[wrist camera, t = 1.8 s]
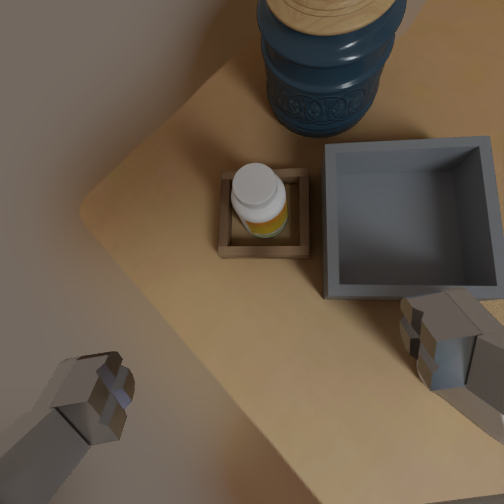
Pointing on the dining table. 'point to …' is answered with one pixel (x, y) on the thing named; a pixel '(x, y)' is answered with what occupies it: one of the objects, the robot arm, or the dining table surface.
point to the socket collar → (262, 252)
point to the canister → (325, 59)
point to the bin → (411, 219)
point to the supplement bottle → (259, 200)
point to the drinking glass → (473, 409)
